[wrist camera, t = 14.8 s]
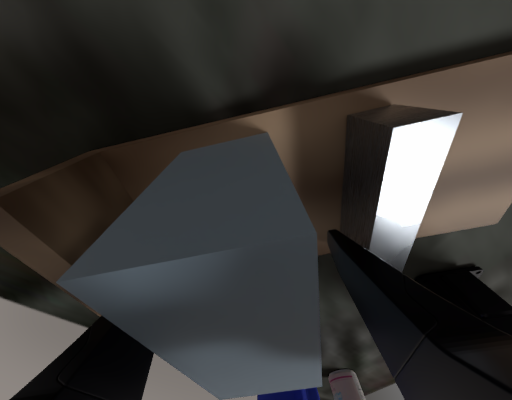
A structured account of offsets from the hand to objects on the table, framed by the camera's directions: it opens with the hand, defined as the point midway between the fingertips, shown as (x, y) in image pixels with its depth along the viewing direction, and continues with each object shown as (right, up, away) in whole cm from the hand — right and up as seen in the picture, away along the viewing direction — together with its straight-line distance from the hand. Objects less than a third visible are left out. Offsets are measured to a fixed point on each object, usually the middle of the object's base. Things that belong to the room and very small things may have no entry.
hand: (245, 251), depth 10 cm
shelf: (+5, +4, +4) cm, 7 cm away
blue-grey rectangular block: (0, +2, +3) cm, 4 cm away
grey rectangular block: (+8, +3, +2) cm, 9 cm away
